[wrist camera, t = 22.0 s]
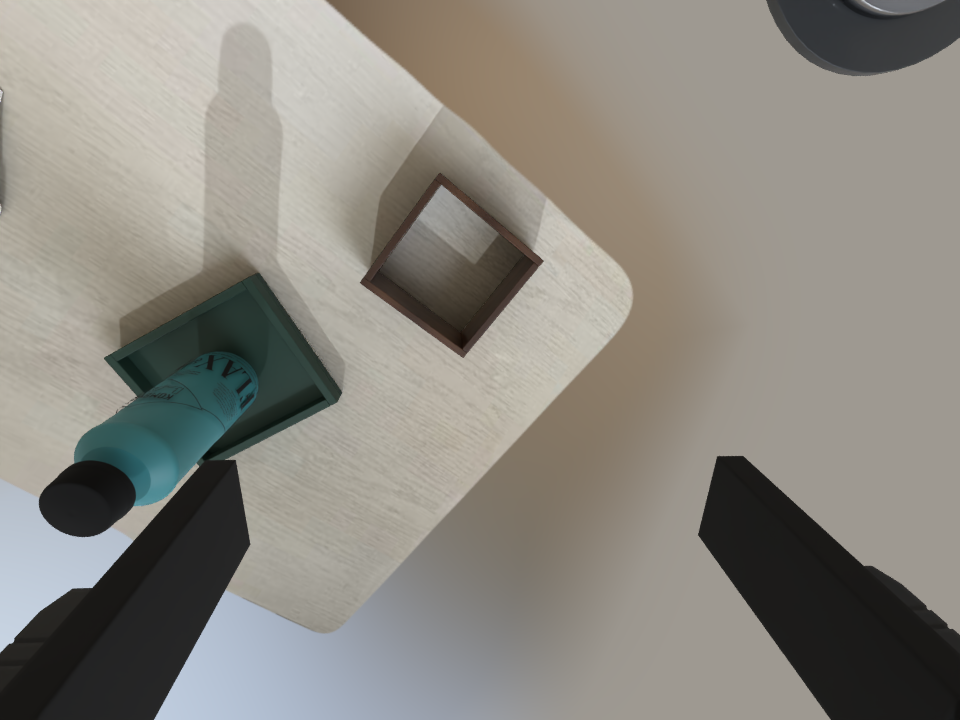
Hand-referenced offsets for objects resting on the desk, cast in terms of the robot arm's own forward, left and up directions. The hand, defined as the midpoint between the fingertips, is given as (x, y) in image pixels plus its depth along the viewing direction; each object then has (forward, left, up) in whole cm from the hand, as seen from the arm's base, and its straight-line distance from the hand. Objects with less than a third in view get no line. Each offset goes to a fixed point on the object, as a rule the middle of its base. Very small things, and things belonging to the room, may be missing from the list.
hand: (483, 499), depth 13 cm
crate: (+1, -1, -33) cm, 33 cm away
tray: (+22, +10, -33) cm, 40 cm away
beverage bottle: (+22, +10, -32) cm, 40 cm away
